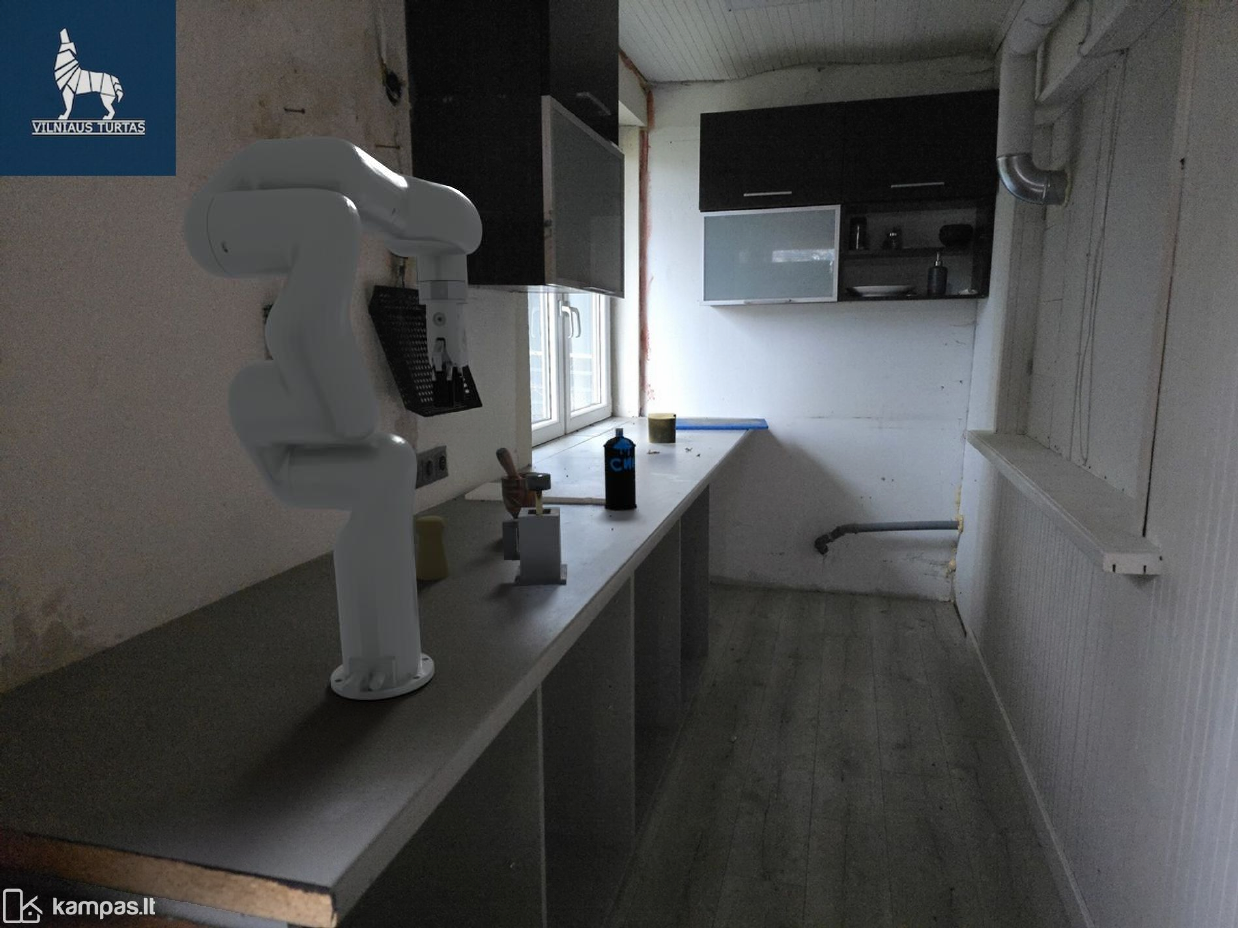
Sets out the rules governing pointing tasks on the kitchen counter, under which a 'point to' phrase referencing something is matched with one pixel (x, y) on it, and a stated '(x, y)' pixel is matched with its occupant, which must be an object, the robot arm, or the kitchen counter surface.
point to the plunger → (538, 487)
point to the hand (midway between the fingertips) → (449, 404)
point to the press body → (535, 546)
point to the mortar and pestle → (514, 486)
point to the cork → (431, 549)
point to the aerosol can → (620, 472)
